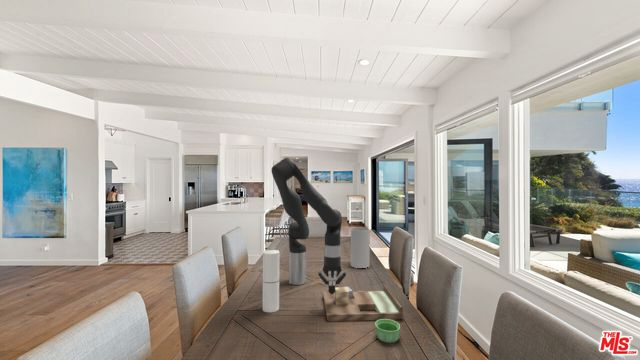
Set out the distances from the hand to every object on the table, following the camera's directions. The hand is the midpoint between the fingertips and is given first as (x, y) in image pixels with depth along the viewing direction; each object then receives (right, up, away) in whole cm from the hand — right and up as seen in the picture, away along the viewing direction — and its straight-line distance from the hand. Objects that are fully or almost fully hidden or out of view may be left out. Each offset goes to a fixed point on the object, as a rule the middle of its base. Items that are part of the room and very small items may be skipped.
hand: (331, 293), depth 124 cm
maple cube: (+4, -4, 0) cm, 6 cm away
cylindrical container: (-27, -6, -1) cm, 28 cm away
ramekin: (+19, -7, -23) cm, 31 cm away
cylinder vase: (+21, -7, +62) cm, 66 cm away
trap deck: (+12, -7, +1) cm, 14 cm away
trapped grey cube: (+7, -7, +8) cm, 12 cm away
